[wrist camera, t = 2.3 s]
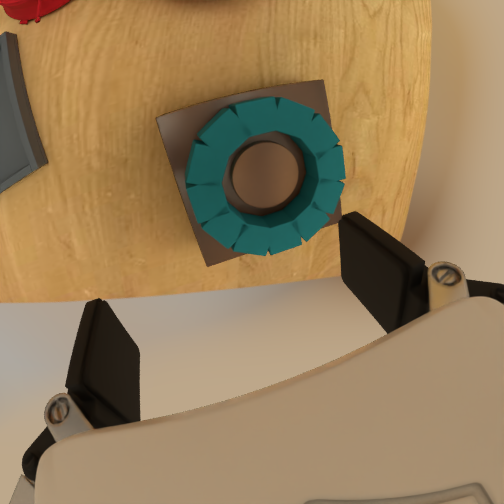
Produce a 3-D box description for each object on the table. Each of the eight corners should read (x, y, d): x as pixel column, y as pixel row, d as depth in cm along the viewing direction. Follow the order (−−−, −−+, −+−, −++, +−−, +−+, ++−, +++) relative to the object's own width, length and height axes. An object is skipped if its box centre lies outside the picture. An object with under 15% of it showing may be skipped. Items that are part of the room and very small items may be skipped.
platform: (301, 81, 20) (329, 79, 16) (321, 205, 27) (347, 225, 23) (158, 116, 19) (154, 118, 15) (201, 244, 26) (208, 273, 22)
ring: (318, 87, 17) (333, 87, 15) (336, 217, 23) (349, 228, 21) (166, 123, 16) (165, 125, 14) (212, 258, 22) (216, 274, 20)
